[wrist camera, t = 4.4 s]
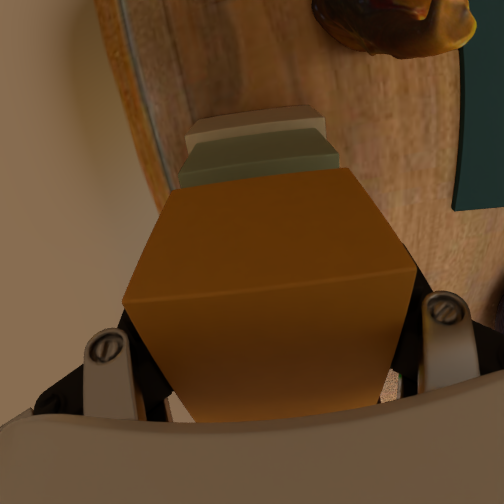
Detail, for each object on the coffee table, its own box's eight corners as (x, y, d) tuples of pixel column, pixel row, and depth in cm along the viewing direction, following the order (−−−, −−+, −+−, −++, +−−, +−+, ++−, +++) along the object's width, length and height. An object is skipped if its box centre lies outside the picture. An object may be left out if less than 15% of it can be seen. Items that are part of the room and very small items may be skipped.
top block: (171, 189, 10) (119, 302, 6) (348, 166, 9) (419, 267, 5) (209, 313, 13) (197, 425, 9) (344, 297, 12) (375, 407, 8)
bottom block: (197, 119, 19) (183, 135, 15) (309, 104, 18) (325, 117, 14) (217, 215, 22) (211, 251, 19) (316, 203, 22) (330, 237, 18)
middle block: (195, 143, 15) (176, 174, 11) (315, 127, 15) (339, 153, 11) (218, 243, 18) (210, 296, 15) (321, 230, 18) (339, 280, 14)
